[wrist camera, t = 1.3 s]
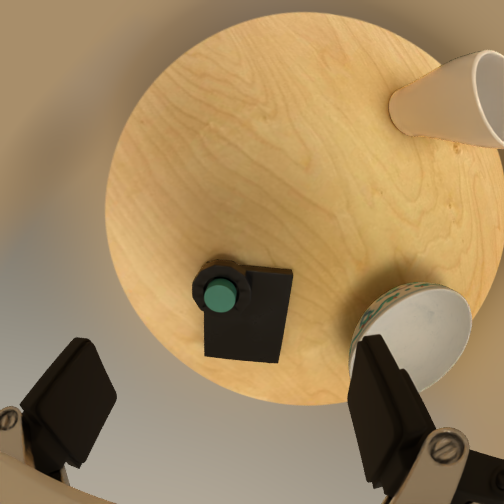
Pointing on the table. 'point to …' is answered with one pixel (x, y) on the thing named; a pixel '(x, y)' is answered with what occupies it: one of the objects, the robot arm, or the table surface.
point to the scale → (245, 311)
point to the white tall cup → (455, 102)
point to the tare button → (220, 295)
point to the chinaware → (418, 329)
